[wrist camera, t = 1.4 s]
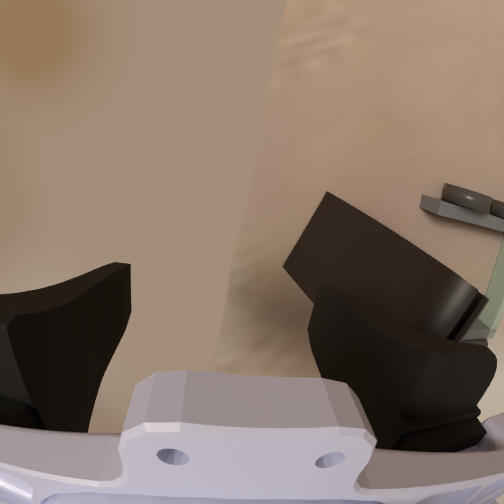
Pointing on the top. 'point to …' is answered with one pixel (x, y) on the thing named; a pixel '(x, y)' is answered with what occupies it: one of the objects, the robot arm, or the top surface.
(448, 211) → the chassis bay
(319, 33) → the top surface
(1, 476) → the robot arm
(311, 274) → the phone stand
